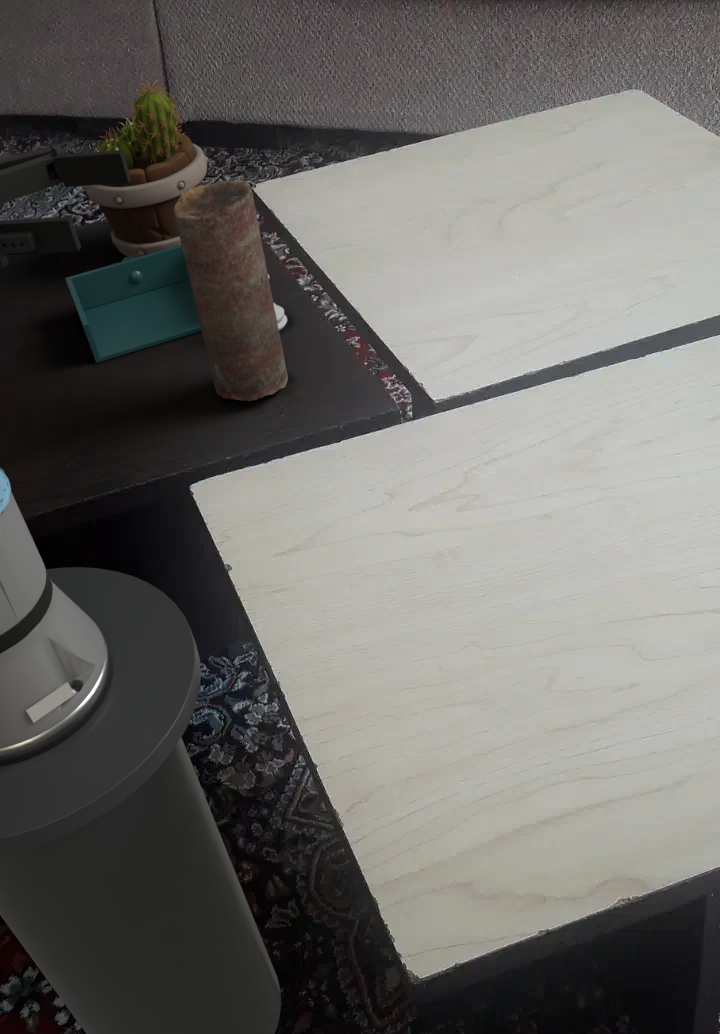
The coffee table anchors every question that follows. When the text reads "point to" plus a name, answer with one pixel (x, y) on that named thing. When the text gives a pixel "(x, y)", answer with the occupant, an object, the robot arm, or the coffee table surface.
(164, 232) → the flowerpot
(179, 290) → the teal tray
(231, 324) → the rusty brown cylinder
